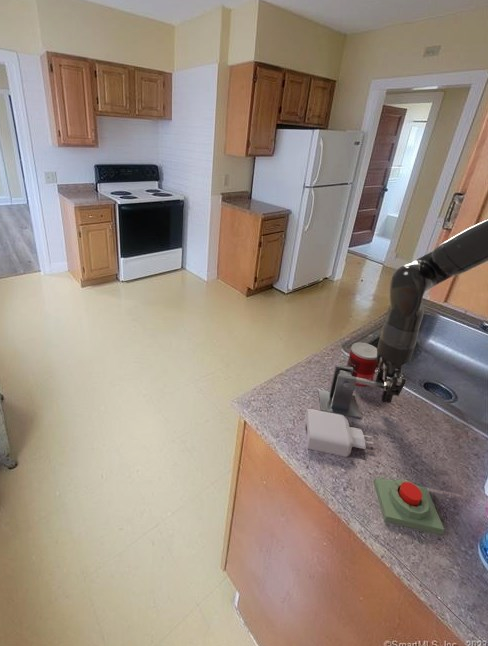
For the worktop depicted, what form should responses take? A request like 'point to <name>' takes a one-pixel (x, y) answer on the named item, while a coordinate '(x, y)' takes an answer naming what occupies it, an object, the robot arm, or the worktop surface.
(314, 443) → the charger
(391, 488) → the button box
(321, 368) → the worktop surface
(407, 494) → the button
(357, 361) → the canned food
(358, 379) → the tap lever
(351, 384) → the tap bracket
